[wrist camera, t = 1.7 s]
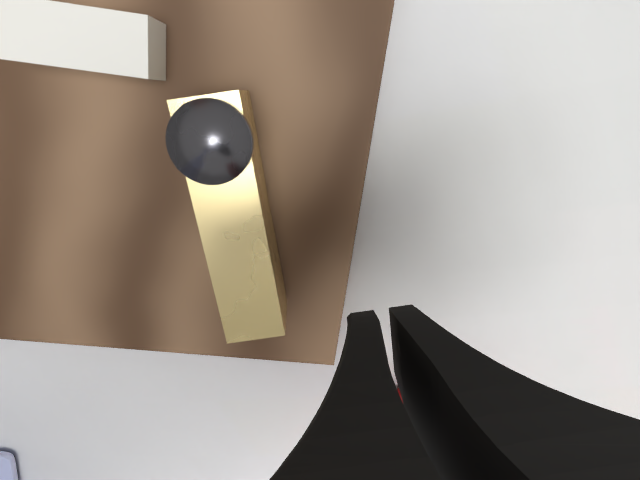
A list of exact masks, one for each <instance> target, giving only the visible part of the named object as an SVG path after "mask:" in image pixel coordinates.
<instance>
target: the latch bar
mask: <svg viewBox="0 0 640 480" xmlns="http://www.w3.org/2000/svg"><path fill="white" fill-rule="evenodd" d="M167 104H168V108H169V112H170V116H171V118H170V120H169V122H168V125H167V129H166V137H165V139H166V147H167V151H168V154H169V156H170V159H171V161H172V162H173V164H174V165H175V167H176V168H177V169H178V170H179V171H180V172H181V173H182V174H183V175H185V176H186V180H187V184H188V188H189V192H190V196H191V200H192V205H193V209H194V213H195V217H196V221H197V225H198V229H199V233H200V237H201V241H202V245H203V249H204V253H205V257H206V261H207V265H208V269H209V273H210V277H211V281H212V285H213V289H214V293H215V297H216V301H217V305H218V309H219V313H220V317H221V321H222V325H223V329H224V333H225V337H226V341H227V344H228V343H235V342H242V341H249V340H256V339H263V338H270V337H277V336H284V335H285V330H286V313H287V296H286V291H285V285H284V280H283V274H282V269H281V263H280V258H279V252H278V247H277V241H276V236H275V230H274V225H273V219H272V214H271V208H270V203H269V197H268V192H267V186H266V181H265V175H264V170H263V164H262V159H261V153H260V148H259V142H258V137H257V131H256V126H255V120H254V115H253V109H252V104H251V98H250V93H249V90H235V91H228V92H221V93H214V94H207V95H199V96H192V97H185V98H178V99H171V100H167Z"/></svg>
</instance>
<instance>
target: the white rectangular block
mask: <svg viewBox="0 0 640 480" xmlns="http://www.w3.org/2000/svg"><path fill="white" fill-rule="evenodd" d="M0 59H4V60H11V61H19V62H26V63H33V64H41V65H48V66H55V67H63V68H70V69H77V70H85V71H92V72H100V73H107V74H114V75H122V76H129V77H136V78H144V79H152V80H163V81H166V24H164V23H162V22H160V21H158V20H156V19H154V18H153V17H151V16H149V15H144V14H138V13H131V12H124V11H117V10H111V9H104V8H97V7H91V6H84V5H77V4H71V3H64V2H57V1H50V0H0Z"/></svg>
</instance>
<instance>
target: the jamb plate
mask: <svg viewBox="0 0 640 480" xmlns="http://www.w3.org/2000/svg"><path fill="white" fill-rule="evenodd" d="M50 1H57V2H64V3H71V4H77V5H84V6H91V7H97V8H104V9H111V10H117V11H124V12H131V13H138V14H144V15H149V16H151V17H153V18H154V19H156V20H158V21H160V22H162V23H164V24H166V81H163V80H152V79H144V78H136V77H129V76H122V75H114V74H107V73H100V72H92V71H85V70H77V69H70V68H63V67H55V66H48V65H41V64H33V63H26V62H19V61H11V60H4V59H0V339H10V340H22V341H35V342H48V343H60V344H73V345H86V346H99V347H111V348H124V349H137V350H149V351H162V352H175V353H187V354H200V355H213V356H225V357H238V358H251V359H263V360H276V361H289V362H301V363H314V364H327V365H334V360H335V354H336V348H337V342H338V336H339V330H340V324H341V318H342V312H343V306H344V300H345V294H346V288H347V282H348V276H349V270H350V264H351V258H352V252H353V246H354V240H355V234H356V228H357V222H358V216H359V210H360V204H361V198H362V192H363V186H364V180H365V174H366V168H367V162H368V156H369V150H370V144H371V138H372V132H373V126H374V120H375V114H376V108H377V102H378V96H379V90H380V84H381V78H382V72H383V66H384V60H385V54H386V48H387V42H388V36H389V30H390V24H391V18H392V12H393V6H394V0H50ZM235 90H249V93H250V98H251V104H252V109H253V115H254V120H255V126H256V131H257V137H258V142H259V148H260V153H261V159H262V164H263V170H264V175H265V181H266V186H267V192H268V197H269V203H270V208H271V214H272V219H273V225H274V230H275V236H276V241H277V247H278V252H279V258H280V263H281V269H282V274H283V280H284V285H285V291H286V296H287V313H286V330H285V335H284V336H277V337H270V338H263V339H256V340H249V341H242V342H235V343H228V344H227V341H226V337H225V333H224V329H223V325H222V321H221V317H220V313H219V309H218V305H217V301H216V297H215V293H214V289H213V285H212V281H211V277H210V273H209V269H208V265H207V261H206V257H205V253H204V249H203V245H202V241H201V237H200V233H199V229H198V225H197V221H196V217H195V213H194V209H193V205H192V200H191V196H190V192H189V188H188V184H187V180H186V176H185V175H183V174H182V173H181V172H180V171H179V170H178V169H177V168H176V167H175V165H174V164H173V162H172V161H171V159H170V156H169V154H168V151H167V147H166V139H165V137H166V129H167V125H168V122H169V120H170V118H171V116H170V112H169V108H168V104H167V100H171V99H178V98H185V97H192V96H199V95H207V94H214V93H221V92H228V91H235Z"/></svg>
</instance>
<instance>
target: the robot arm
mask: <svg viewBox="0 0 640 480" xmlns="http://www.w3.org/2000/svg"><path fill="white" fill-rule="evenodd" d="M389 314H390V326H391V338H392V349H393V361H394V372H395V376H396V379H397V383H398V387H399V390H400V394H401V397H402V400H401V398H400V395H399V393H398V390H397V388H396V385H395V383H394V381H393V378H392V375H391V372H390V368H389V364H388V360H387V355H386V350H385V345H384V340H383V335H382V331H381V326H380V321H379V319H378V317H377V315H376V314H375V312H374V310H370V311H363V312H356V313H350V315H349V316H348V317H347V323H348V326H347V334H346V339H345V344H344V347H343V351H342V355H341V358H340V361H339V364H338V367H337V370H336V372H335V375H334V377H333V380H332V383H331V385H330V387H329V389H328V392H327V394H326V396H325V398H324V400H323V402H322V404H321V406H320V408H319V409H318V411H317V413H316V415H315V416H314V418H313V420H312V421H311V423H310V425H309V427H308V428H307V430H306V431H305V433H304V434H303V436H302V438H301V439H300V440H299V442H298V443H297V445H296V446H295V447H294V449H293V450H292V451H291V453H290V454H289V455H288V457H287V458H286V459H285V461H284V462H283V463H282V465H281V466H280V467H279V469H278V470H277V471H276V472H275V474H274V475H273V476H272V477H271V478H270V480H640V420H639V419H636V418H632V417H629V416H626V415H623V414H620V413H617V412H614V411H611V410H607V409H604V408H602V407H599V406H596V405H593V404H590V403H588V402H585V401H582V400H579V399H577V398H574V397H572V396H569V395H567V394H564V393H562V392H559V391H557V390H554V389H552V388H549V387H547V386H545V385H543V384H540V383H538V382H536V381H534V380H531V379H529V378H527V377H525V376H523V375H521V374H519V373H517V372H515V371H513V370H511V369H509V368H507V367H505V366H503V365H501V364H500V363H498V362H496V361H494V360H492V359H491V358H489V357H487V356H486V355H484V354H482V353H481V352H479V351H477V350H476V349H474V348H472V347H471V346H469V345H468V344H466V343H464V342H463V341H461V340H460V339H458V338H457V337H455V336H454V335H453V334H451V333H450V332H448V331H447V330H445V329H444V328H443V327H441V326H440V325H438V324H437V323H436V322H434V321H433V320H432V319H430V318H429V317H428V316H426V315H425V314H424V313H422V312H421V311H420V310H418V309H417V308H416V307H414V306H413V305H405V306H398V307H391V308H389ZM402 401H403V402H402ZM0 480H18V475H17V469H16V462H15V458H14V456H13V455H12V454H11V453H9V452H5V451H0Z"/></svg>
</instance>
